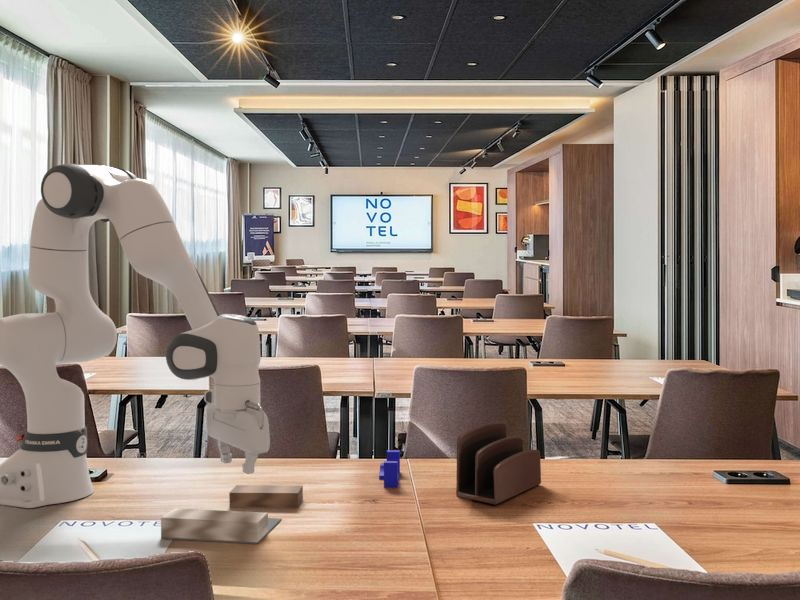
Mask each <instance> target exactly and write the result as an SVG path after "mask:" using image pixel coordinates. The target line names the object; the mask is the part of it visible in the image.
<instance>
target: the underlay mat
mask: <svg viewBox="0 0 800 600" xmlns="http://www.w3.org/2000/svg"><path fill="white" fill-rule="evenodd" d="M280 522H282V518H278V517H277V518H276V517H275V518H274V517H268V532H267V533H266V534H265V535H264V536H263V537H262V538H261V539H260V540H259V541H258V542H243V541H225V540H206V539H188V538H169V537H161V536H160V539H161V540H175V541H176V540H177V541H178V540H180V541H194V542H195V541H196V542H197V541H198V542H215V543H232V544H233V543H234V544H251V545H252V544H253V545H258V544H259V543H260V542H261V541H262V540H263V539H264V538H265V537H266V536H267V535H268V534H269V533H270V532H271V531H272V530H273V529H274V528H275V527H276V526H277V525H278V524H279V523H280Z"/></svg>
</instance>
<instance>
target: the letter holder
mask: <svg viewBox="0 0 800 600" xmlns="http://www.w3.org/2000/svg"><path fill="white" fill-rule="evenodd" d="M507 430H508V426H507V424H506V421H505V422H504V421H493V422H488V423H484V424H481V425H478V426H476V427H473V428H471V429H469V430H467V431H465V432H463V433H461V434H460V435H459V436H458V437H457V441H456V487H455V488H456V489H455V491H456V492H455V493H456V494H455V495H456V497H458V498H463V499H466V500H471V501H475V502H479V503H485V504H489V505H494V506H496V505H497V504H498V505H499V504H500V503H502V502H505V501H507V500H509V499H511V498H514V497H515V496H517V495H519V494H521V493H522V494H523V492H526V491H528V490H531V489H532V488H535V487H537V486H538V485H541V483H542V472H541V471H542V469H541V468H542V467H541V466H542V465H541V452H540V450H539V449H529V450H524V439H523V437H522V436H510V437H507V433H508V432H507Z"/></svg>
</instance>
